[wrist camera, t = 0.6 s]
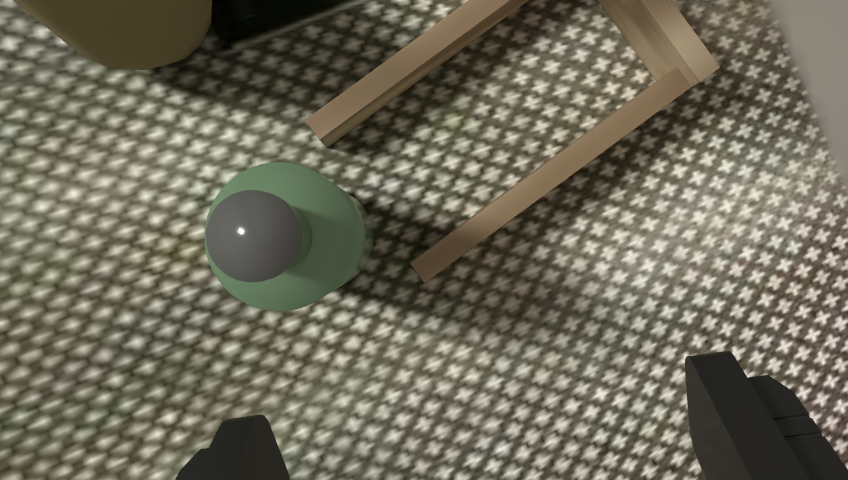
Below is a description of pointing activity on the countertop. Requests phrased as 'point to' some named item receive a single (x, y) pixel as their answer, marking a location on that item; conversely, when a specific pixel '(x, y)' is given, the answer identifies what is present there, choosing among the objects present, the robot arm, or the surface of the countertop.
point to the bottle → (286, 236)
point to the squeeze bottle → (126, 28)
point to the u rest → (674, 73)
